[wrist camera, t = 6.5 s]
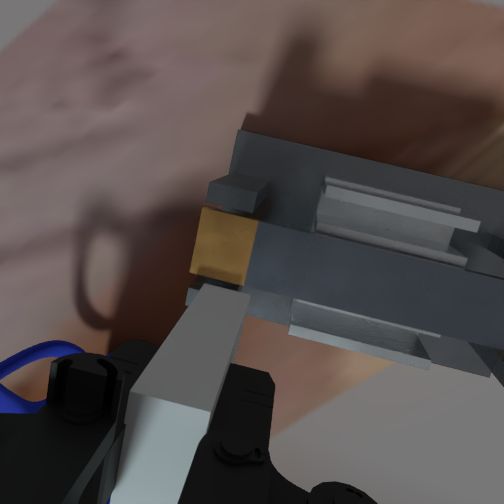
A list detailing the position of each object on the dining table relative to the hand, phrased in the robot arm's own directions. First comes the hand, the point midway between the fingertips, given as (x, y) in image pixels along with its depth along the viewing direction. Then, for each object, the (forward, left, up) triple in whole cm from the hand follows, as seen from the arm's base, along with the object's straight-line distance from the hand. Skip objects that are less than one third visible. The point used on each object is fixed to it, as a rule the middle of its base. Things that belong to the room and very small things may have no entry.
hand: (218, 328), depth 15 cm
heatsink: (+7, 0, -18) cm, 19 cm away
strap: (+6, 0, -11) cm, 13 cm away
